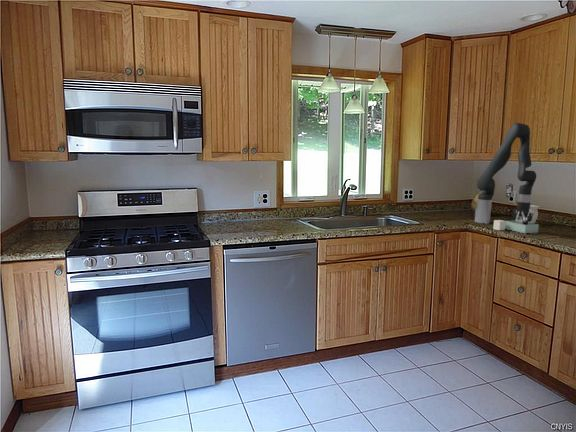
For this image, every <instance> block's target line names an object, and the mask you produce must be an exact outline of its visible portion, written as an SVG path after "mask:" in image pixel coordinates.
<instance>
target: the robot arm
mask: <svg viewBox="0 0 576 432" xmlns="http://www.w3.org/2000/svg"><path fill="white" fill-rule="evenodd" d="M530 130H531V128H530V126H529V125H528V124H525V123H520V122H514V123H512V125H511V126H510V127H509V129H508V130H507V132H506V135H505V137H504V139H503V141H502V142H501V145H500V146H499V148H498V149H497V151H496V153H495V154H494V156H493V158H492V159H491V161H490V163H489V164H488V166H487V167H486V168H485V171H483V173H482V174H481V175H480V176H479V178H478V180H477V182H476V186H477V189H478V190H479V191H480V190H482V193H481V194H479V195H478V202H477V209H476V212H475V215H474V222H475V223H478V224H483V223H484V225H485V224H487V225H488V224H490V220H491V211H492V208H491V203H492V202H493V197H494V194H495V190H496V189H495V188H496V181H495V179H494V176H495V175H496V174H497V173H498V172H500V171H501V170H502V169H504V167H505V166H506V165H507V164H508V162H509V160H510V158H511V156H512V148H513V147H512V146H513V143H514V141H515V140H516V139H517V138H518V139H519V140H520V141H519V142H520V148H519V150H518V153H517V160H518V168H517V169H518V171H517V179H518V180H519V181H520V182H525V183H524V184H521V185H519V188H518V189H519V190H518V195H517V202H516V209H513V210H512V219H513V220H514V221H516V220H519V219H521V217H523V219H524V225H528V222H531V220H532V217H533V213H530V212H529V209H530V205H531V203H532V191H533V190H532V189H533V188H534V187H533V186H534V184H535V182H536V180H537V173H536V172H535V171H534V170H527V168H530V167H531V166H532V158H531V157H532V156H531V153H530V152H531V150H530V147H531V146H530V145H531V144H530V142H531V141H530V140H531V138H530V137H531V131H530Z"/></svg>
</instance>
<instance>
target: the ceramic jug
mask: <svg viewBox="0 0 576 432" xmlns="http://www.w3.org/2000/svg"><path fill="white" fill-rule="evenodd" d="M481 193H482V190H480V189H479V191H478V193H476V195H475V196H474V197H473V199H472V201H471V204H470V209H471V211H472V213H473V216H475V212H476V209H477V202H478V195H479V194H481ZM492 207H493V204H492V203H491V209H492Z"/></svg>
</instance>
